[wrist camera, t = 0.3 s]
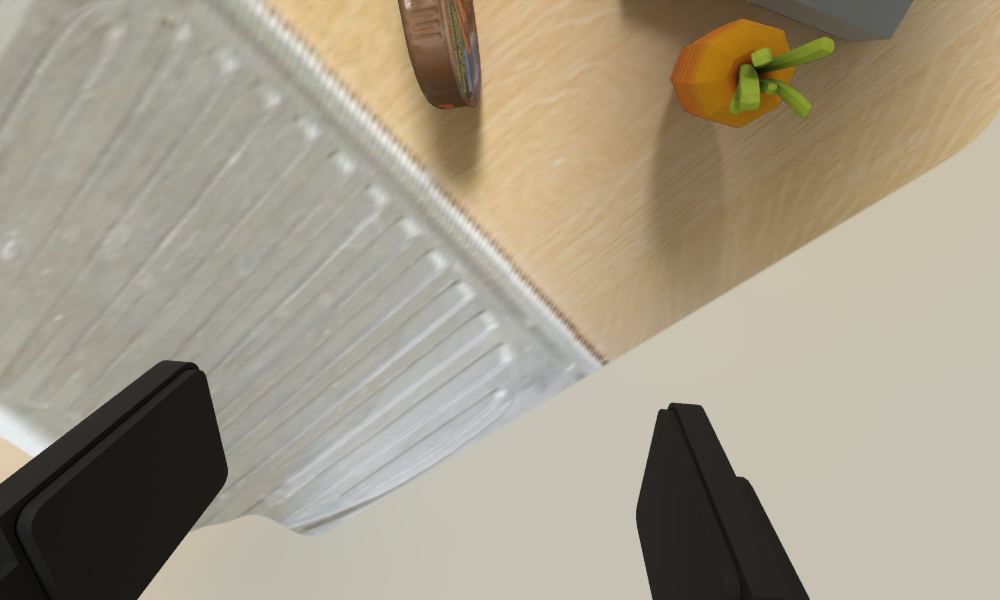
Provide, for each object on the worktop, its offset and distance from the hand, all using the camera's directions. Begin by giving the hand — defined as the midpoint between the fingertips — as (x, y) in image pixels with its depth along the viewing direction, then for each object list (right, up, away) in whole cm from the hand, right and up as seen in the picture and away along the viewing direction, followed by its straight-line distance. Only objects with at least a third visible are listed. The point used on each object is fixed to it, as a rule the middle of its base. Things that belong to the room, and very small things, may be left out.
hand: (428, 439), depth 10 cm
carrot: (+14, +18, +23) cm, 33 cm away
